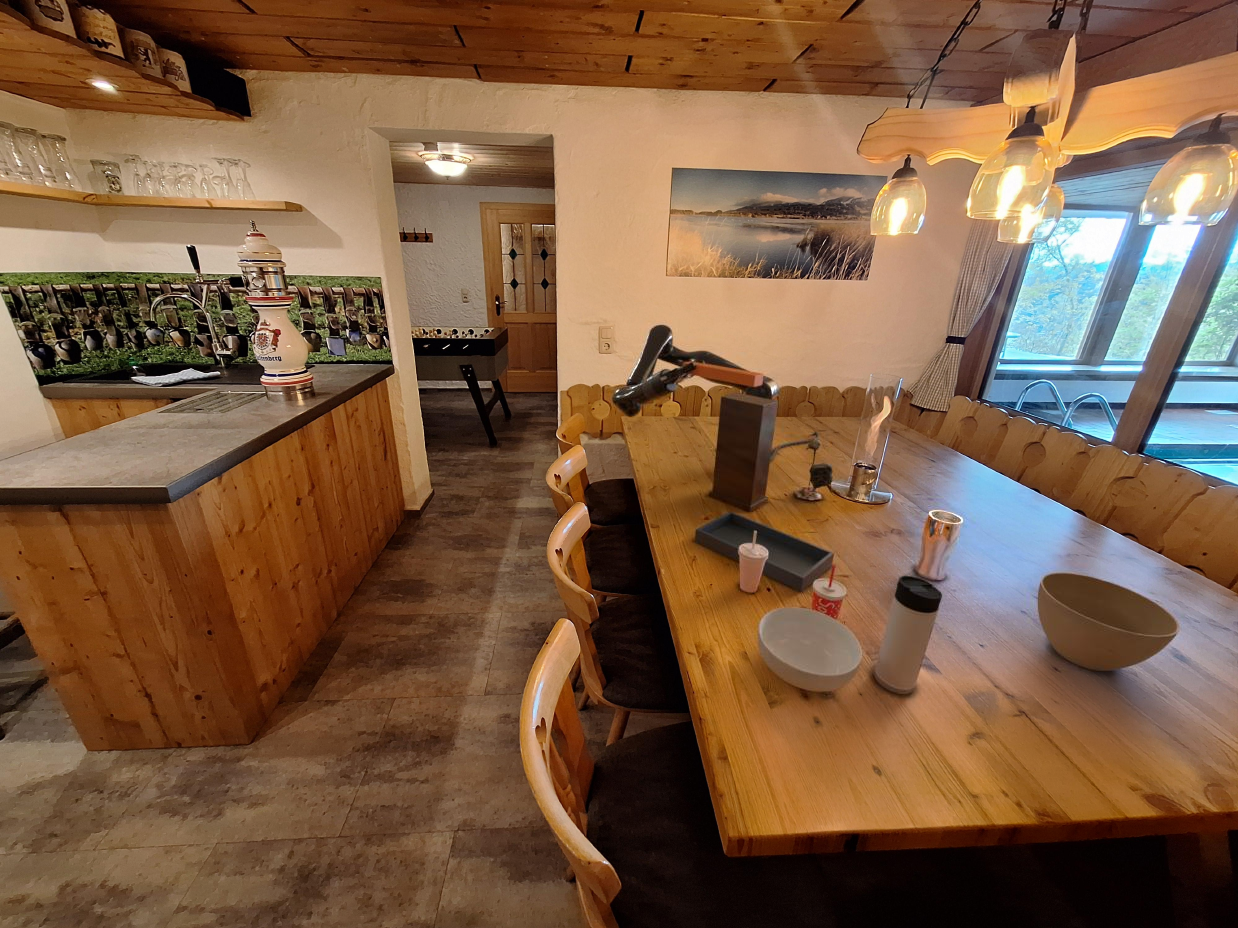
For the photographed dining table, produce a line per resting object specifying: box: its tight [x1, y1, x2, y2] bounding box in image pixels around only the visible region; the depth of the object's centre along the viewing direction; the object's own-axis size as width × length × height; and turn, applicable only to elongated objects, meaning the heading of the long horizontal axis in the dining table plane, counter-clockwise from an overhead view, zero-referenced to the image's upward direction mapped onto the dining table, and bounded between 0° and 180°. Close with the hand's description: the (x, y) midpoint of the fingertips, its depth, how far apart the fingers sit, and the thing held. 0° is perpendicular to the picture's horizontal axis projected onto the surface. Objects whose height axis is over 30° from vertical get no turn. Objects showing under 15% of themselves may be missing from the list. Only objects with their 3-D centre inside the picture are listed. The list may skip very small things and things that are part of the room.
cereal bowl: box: [756, 606, 863, 693], centre depth 86 cm, size 17×17×7 cm
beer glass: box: [914, 509, 964, 581], centre depth 113 cm, size 7×7×15 cm
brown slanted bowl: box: [1037, 572, 1181, 672], centre depth 89 cm, size 18×18×12 cm
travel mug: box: [873, 575, 943, 695], centre depth 81 cm, size 6×7×20 cm
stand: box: [708, 392, 779, 513], centre depth 147 cm, size 10×15×32 cm, turn 44°
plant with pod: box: [794, 437, 834, 501], centre depth 151 cm, size 8×11×20 cm
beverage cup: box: [810, 564, 848, 621], centre depth 95 cm, size 6×6×14 cm
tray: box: [694, 510, 835, 593], centre depth 122 cm, size 16×30×4 cm, turn 44°
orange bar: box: [683, 361, 764, 387], centre depth 135 cm, size 4×24×3 cm, turn 43°
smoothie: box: [738, 531, 768, 593], centre depth 107 cm, size 6×6×14 cm
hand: (699, 364), depth 140 cm, fingers closed on orange bar, 4 cm apart
